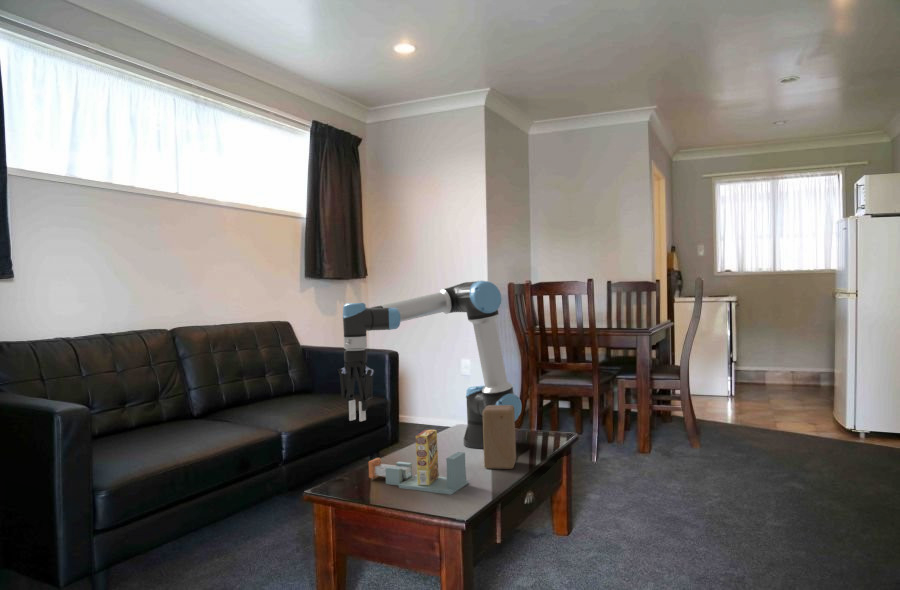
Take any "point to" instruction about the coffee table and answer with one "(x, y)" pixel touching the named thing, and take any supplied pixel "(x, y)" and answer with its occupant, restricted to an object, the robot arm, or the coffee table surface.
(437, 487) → the press
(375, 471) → the ram
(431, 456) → the candy box
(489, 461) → the wooden block
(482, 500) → the coffee table surface
